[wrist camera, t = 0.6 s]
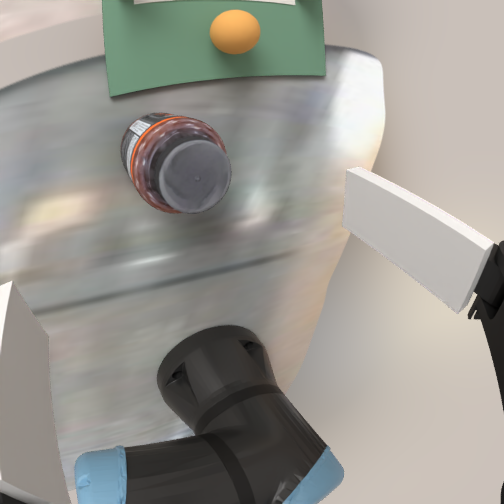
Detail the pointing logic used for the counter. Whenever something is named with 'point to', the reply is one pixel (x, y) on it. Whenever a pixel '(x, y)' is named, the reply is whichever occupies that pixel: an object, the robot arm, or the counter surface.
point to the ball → (235, 31)
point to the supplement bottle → (176, 162)
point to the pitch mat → (206, 41)
